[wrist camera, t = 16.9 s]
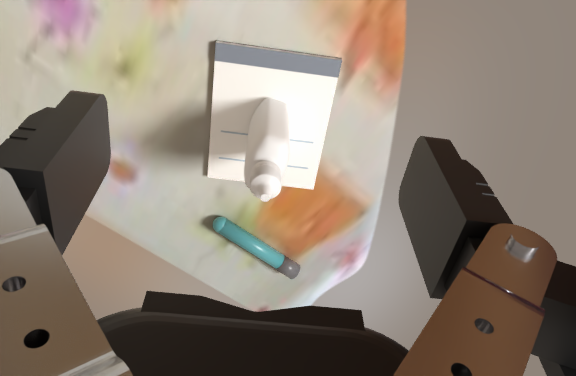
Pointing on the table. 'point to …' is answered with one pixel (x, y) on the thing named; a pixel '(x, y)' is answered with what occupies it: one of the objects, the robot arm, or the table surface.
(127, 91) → the table surface
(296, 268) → the marker
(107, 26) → the table surface
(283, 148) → the white tapered bottle shape
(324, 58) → the notepad
